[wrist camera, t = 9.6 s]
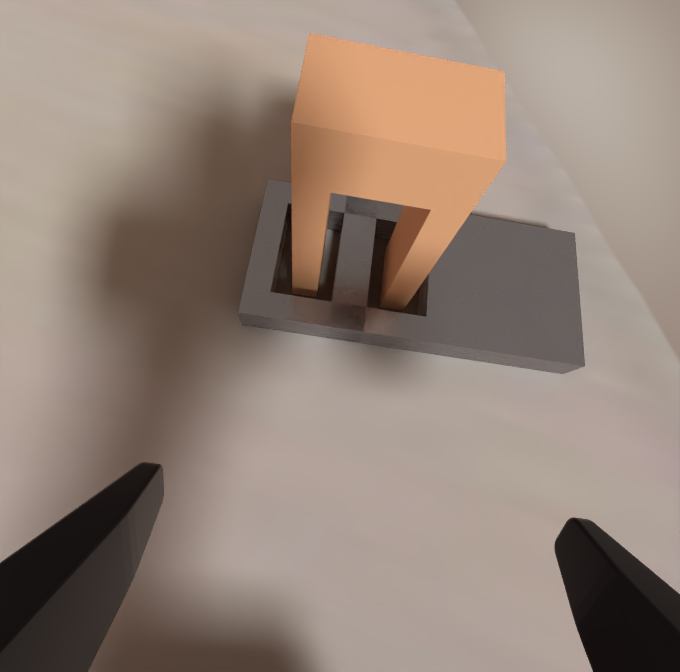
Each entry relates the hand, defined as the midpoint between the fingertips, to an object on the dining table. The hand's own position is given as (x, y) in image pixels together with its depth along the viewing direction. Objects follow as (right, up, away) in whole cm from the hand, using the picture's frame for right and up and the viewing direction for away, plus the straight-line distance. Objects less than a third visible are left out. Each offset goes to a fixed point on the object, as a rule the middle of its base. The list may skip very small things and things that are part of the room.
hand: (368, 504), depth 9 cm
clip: (0, +8, +17) cm, 19 cm away
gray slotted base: (+4, +7, +17) cm, 19 cm away
